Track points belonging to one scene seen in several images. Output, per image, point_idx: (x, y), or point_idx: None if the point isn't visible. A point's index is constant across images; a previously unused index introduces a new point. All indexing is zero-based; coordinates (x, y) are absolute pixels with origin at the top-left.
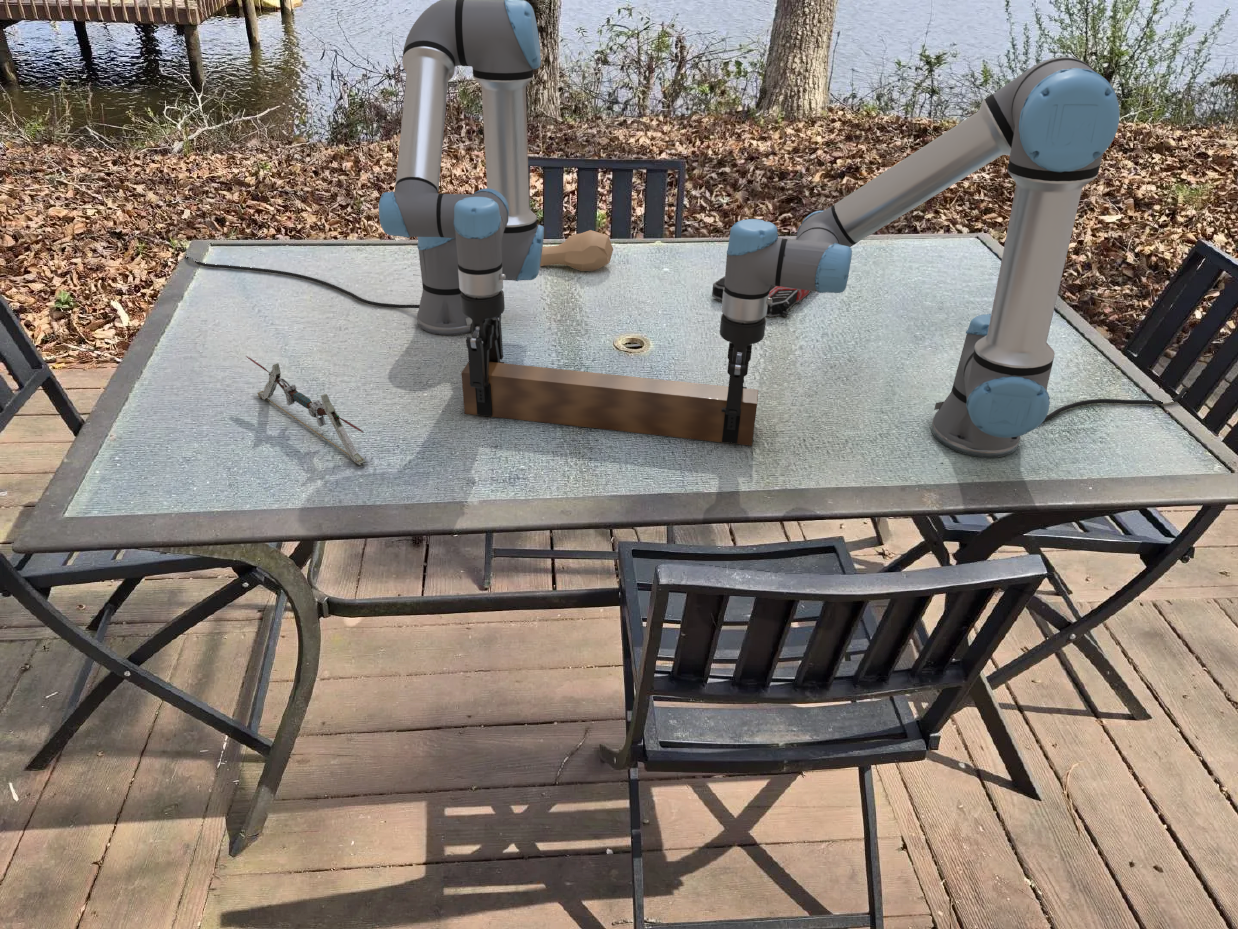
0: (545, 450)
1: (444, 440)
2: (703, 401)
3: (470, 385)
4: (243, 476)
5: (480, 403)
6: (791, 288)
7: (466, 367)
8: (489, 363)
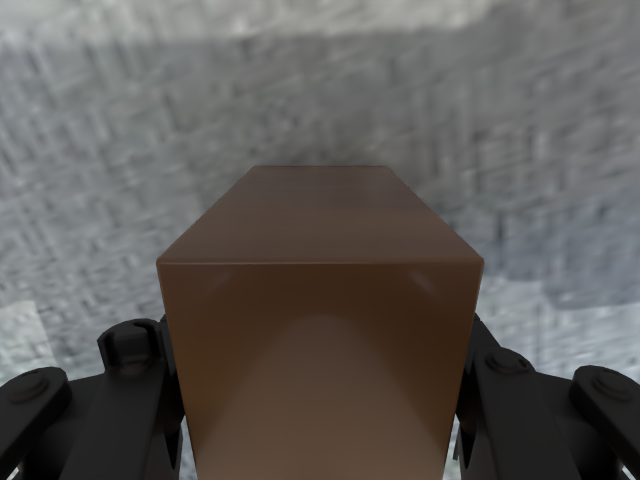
0: None
1: (3, 151)
2: None
3: (4, 385)
4: None
5: None
6: None
7: (285, 280)
8: (412, 442)
